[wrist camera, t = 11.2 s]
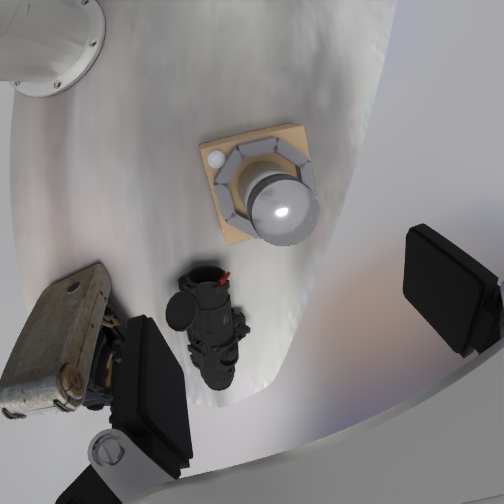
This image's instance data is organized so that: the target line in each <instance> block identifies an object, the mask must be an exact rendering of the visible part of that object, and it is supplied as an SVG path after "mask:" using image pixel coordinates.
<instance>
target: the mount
mask: <svg viewBox="0 0 504 504" xmlns="http://www.w3.org/2000/svg"><path fill="white" fill-rule="evenodd" d="M199 147H200V152H201V156H202V159H203V163H204V167H205V170H206V174H207V178H208V181H209V185H210V189H211V192H212V196H213V199H214V203H215V207H216V210H217V214H218V217H219V221H220V224H221V228H222V231H223V235H224V238H225V242H226V245H230V244H233V243H237V242H240V241H244V240H248V239H251V238H256V239H257V237H258V236H259V235H258V234H257V233H256V231H255V230H254V228H253V226H252V224H251V222H250V220H249V217H248V214H247V211H246V209H245V207H244V205H243V203H242V201H241V200H240V198H239V195H238V192H237V182H238V179H239V176H240V174H241V173H242V171H243V170H244V169H245V168H246V167H247V166H249V165H250V164H252V163H254V162H257V161H270V162H273V163H275V164H277V165H279V166H280V167H281V168H283V169H284V170H285V171H287V172H288V173H289V174H291V175H292V176H294V177H296V178H298V179H299V180H300V181H302V182H303V183H304V184H306V185H307V186H308V187H309V188H310V189H311V190H312V192H313V193H314V195H315V197H316V195H317V193H316V187H315V180H314V174H313V168H312V162H311V161H310V156H309V150H308V144H307V139H306V133H305V128H304V125H300V124H294V123H289V124H283V125H279V126H274V127H269V128H264V129H260V130H255V131H251V132H247V133H242V134H238V135H234V136H230V137H226V138H222V139H219V140H215V141H211V142H207V143H204V144H200V145H199ZM318 220H319V217H318ZM259 238H260V239H262V238H261V237H260V236H259Z"/></svg>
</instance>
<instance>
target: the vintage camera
mask: <svg viewBox="0 0 504 504" xmlns="http://www.w3.org/2000/svg"><path fill="white" fill-rule="evenodd" d="M110 290H111V283H110V276H109V274H108V272H107V270H106V269H105V267H104V266H103V265H101V264H96V265H94V266H91V267H89V268H87V269H85V270H83V271H80V272H78V273H76V274H75V275H73V276H70V277H68V278H66V279H64V280H62V281H59V282H57V283H56V284H53V285H51V286H49V287H47V288H46V289H45V290H44V291H43V292H42V294H41V295H40V297H39V299H38V300H37V302H36V304H35V306H34V308H33V310H32V312H31V314H30V316H29V317H28V319H27V321H26V323H25V325H24V327H23V329H22V331H21V333H20V335H19V337H18V339H17V342H16V343H15V346H14V348H13V350H12V353H11V355H10V357H9V360H8V362H7V364H6V367H5V369H4V371H3V374H2V376H1V379H0V408H1V410H2V414H4V416H5V417H6V418H8V419H14V420H15V419H19V418H22V419H23V418H26V416H31V415H41V414H43V415H45V414H52V413H57V412H59V411H62V412H67V413H68V412H71V411H73V412H74V411H75V410H76V409H77V408H78V407H80V406H81V405H83V406H86V407H87V408H88V409H89V410H94V411H96V410H101V409H103V407H104V406H111V408H110V410H111V412H112V414H111V416H110V417H109V423H111V424H112V417H113V404H114V393H115V383H116V374H117V366H118V363H119V362H120V361H123V353H124V345H125V337H126V330H127V327H126V326H125V324H124V323H123V322H122V320H121V319H120V317H119V315H118V314H117V312H116V311H115V309H114V308H113V306H112V305H111V303H110V302H109V301H108V297H109V294H110Z"/></svg>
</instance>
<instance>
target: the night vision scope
mask: <svg viewBox="0 0 504 504" xmlns="http://www.w3.org/2000/svg"><path fill="white" fill-rule="evenodd" d="M229 275H230V272H227V273H225V271H224V270H222V269H221V268H219V267H215V266H202V267H198V268H195V269H193V270H191V271H190V272H189V273H188V274H187V276H183V277H181V278H180V279H179V281H178V283H179V289H180V290H181V291H180V292H178V293H175V294H174V295H173V296H172V297H171V299H170V300H169V302H168V304H167V308H166V321H167V323H168V326H169V327H171V328H172V329H173V330H175V331H181V332H183V331H185V330H187V334H188V339H189V341H190V343H191V345H190V344H189V345H187V347H188V351H190V352H191V353H192V354H191V355H190V357H191V360H192V363H193V364H194V366H195V367H197V368H198V369H200V373H201V376H202V378H203V379H204V381H205V383H206V384H207V385H208V387H209V388H211V389H213V390H218V391H220V390H225V389H226V388H228V387H229V386H230V385H231V382H232V380H233V377H234V373H235V364H236V363H237V361H238V358H239V354H238V342H239V341H240V340H241V339H242V338H244V337H245V336H246V334H247V333H250V327H248V326H247V325H245V316H244V314H243V313H241V312H240V315H238V314H236V313H234V309H233V308H231V300H230V295H229V294H228V292H227V289H228V288H229V287H230V285H229V280H227V278H228V277H229Z"/></svg>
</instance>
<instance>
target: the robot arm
mask: <svg viewBox="0 0 504 504" xmlns="http://www.w3.org/2000/svg"><path fill="white" fill-rule="evenodd" d="M87 2H88V4H86V3H87ZM104 36H105V17H104V14H103V11H102V9H101V7H100V6H99V4H98V3H97V2H96V1H95V0H0V81H9V83H10V84H11V85H12V86H13V87H14V89H15V90H17V91H18V92H20V93H21V94H24V95H27V96H30V97H47V96H51V95H55V94H57V93H59V92H62V91H64V90H66V89H67V88H69V87H70V86H72V85H73V84H75V83H76V82H77V81H78V80H79V79H80V78H82V77H83V75H84V74H85V73H86V72H87V71H88V70H89V69H90V67H91V66H92V64H93V63H94V61H95V60H96V58H97V56H98V54H99V52H100V49H101V47H102V43H103V40H104ZM96 42H97V44H96V45H95V46H93V44H94V43H96ZM60 83H61V86H60V87H59V84H60ZM405 249H406V250H405V267H404V281H403V294H404V296H405V298H406V299H407V300H408V301H409V302H410V303H411V304H412V305H413V306H414V307H415V309H417V311H418V312H419V313H420V314H421V315H422V316H423V317H424V318H425V319H426V320H427V322H429V324H430V325H431V326H432V327H433V328H434V329H435V330H436V331H437V332H438V334H439V335H440V336H441V337H442V338H443V339H444V340H445V342H446V343H447V344H448V345H449V346H450V347H451V348H452V350H453V351H455V352H456V353H459V354H460V355H461V356H462V357H463V358H465V357H467V356H468V355H469V354H471V353H473V351H474V349H475V350H476V351H477V352H478V356H477V357H476V358H474V359H473V360H471V361H470V362H468V363H467V364H465V365H464V366H462V367H461V368H459V369H458V370H456V371H455V372H453V373H452V374H450V375H448V376H447V377H445V378H444V379H442V380H440V381H439V382H437V383H435V384H434V385H432V386H430V387H428V388H427V389H425V390H424V391H422V392H420V393H418V394H416V395H414V396H413V397H411V398H409V399H407V400H405V401H403V402H401V403H399V404H398V405H396V406H394V407H392V408H390V409H388V410H386V411H384V412H382V413H380V414H377V415H376V416H373V417H371V418H369V419H367V420H365V421H363V422H360V423H358V424H356V425H354V426H351V427H349V428H346V429H344V430H342V431H339V432H337V433H334V434H332V435H329V436H327V437H324V438H322V439H319V440H316V441H313V442H311V443H308V444H305V445H302V446H299V447H296V448H294V449H290V450H287V451H284V452H281V453H278V454H275V455H271V456H268V457H265V458H261V459H257V460H254V461H250V462H247V463H244V464H239V465H235V466H232V467H227V468H224V469H219V470H215V471H210V472H206V473H202V474H197V475H193V476H189V477H184V478H179V477H180V475H181V471H180V469H183V468H188V467H190V464H189V459H192V458H193V450H192V443H191V435H190V428H189V418H188V409H187V400H186V390H185V379H184V373H183V370H182V368H181V366H180V364H179V363H178V361H177V359H176V358H175V356H174V354H173V353H172V351H171V349H170V348H169V346H168V344H167V343H166V341H165V339H164V337H163V336H162V334H161V332H160V330H159V329H158V327H157V325H156V323H155V322H154V320H153V318H152V317H149V318H147V317H146V316H145V315H141V316H137V317H134V318H130V319H129V320H128V323H127V330H126V337H125V345H124V353H123V361H120V362H119V363H118V366H117V374H116V383H115V393H114V404H113V417H112V429H106V430H104V431H101V432H100V433H98V434H97V435H96V436H95V437H94V438H93V439H92V440H91V442H90V445H89V447H88V459H89V461H90V463H91V464H90V465H89V466H88V467H87V468H86V469H85V470H84V471H83V472H82V473H81V474H80V476H78V478H77V479H75V481H74V482H73V483H72V484H71V485H70V486H69V487H68V488H67V489H66V490H65V491H64V492H63V493H62V494H61V495H60V496H59V498H58V499H57V501H56V503H55V504H504V281H503V282H502V283H501V286H499V285H497V282H498V277H497V276H495V275H494V274H493V273H492V272H491V271H489V270H488V269H487V268H485V267H484V266H483V265H482V264H480V263H479V262H478V261H476V260H475V259H474V258H472V257H471V256H470V255H468V254H467V253H466V252H464V251H463V250H461V249H460V248H459V247H457V246H456V245H455V244H453V243H452V242H450V241H449V240H448V239H446V238H445V237H443V236H442V235H440V234H439V233H437V232H436V231H435V230H433V229H431V228H430V227H429V226H427V225H426V224H419V225H417V226H414V227H411V228H410V229H409V231H408V233H407V235H406V248H405Z"/></svg>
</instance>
